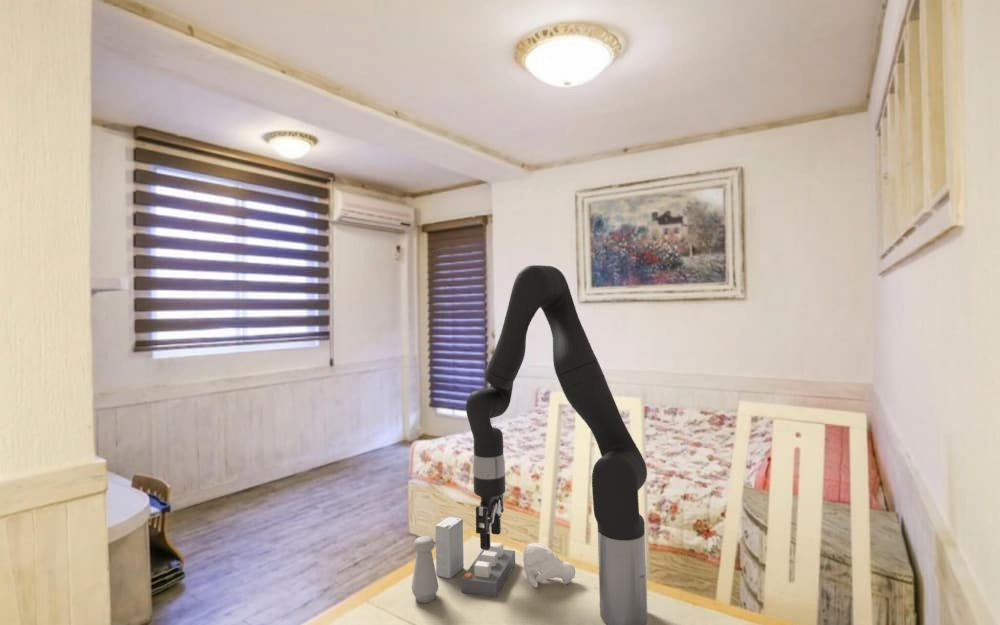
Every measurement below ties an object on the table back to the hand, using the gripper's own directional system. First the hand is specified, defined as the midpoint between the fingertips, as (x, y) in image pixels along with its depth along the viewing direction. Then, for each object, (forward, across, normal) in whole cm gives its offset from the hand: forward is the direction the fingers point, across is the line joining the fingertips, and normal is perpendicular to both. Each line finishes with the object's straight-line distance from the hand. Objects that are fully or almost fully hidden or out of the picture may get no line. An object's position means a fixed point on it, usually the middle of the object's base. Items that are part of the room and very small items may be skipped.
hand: (491, 541), depth 124 cm
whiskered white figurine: (+8, -1, -14) cm, 16 cm away
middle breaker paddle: (+4, -2, 0) cm, 5 cm away
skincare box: (+8, -2, +10) cm, 13 cm away
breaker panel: (+8, -2, 0) cm, 8 cm away
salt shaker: (+8, -14, +11) cm, 19 cm away
